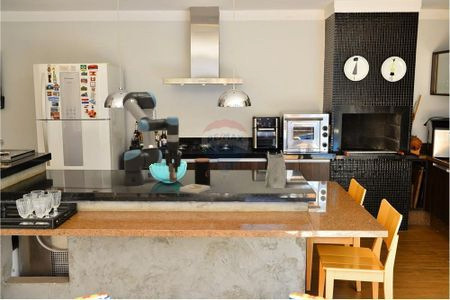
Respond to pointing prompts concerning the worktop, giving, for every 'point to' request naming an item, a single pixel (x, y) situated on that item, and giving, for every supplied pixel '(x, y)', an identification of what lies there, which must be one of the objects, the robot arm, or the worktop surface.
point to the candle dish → (194, 188)
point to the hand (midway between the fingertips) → (173, 177)
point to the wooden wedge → (171, 173)
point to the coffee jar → (202, 171)
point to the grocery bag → (276, 171)
